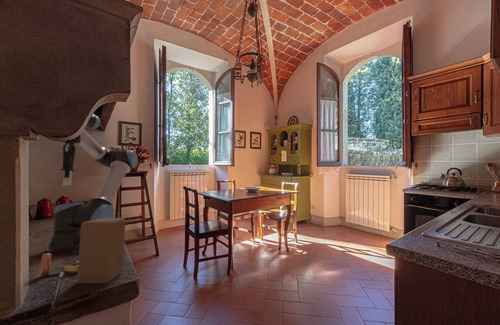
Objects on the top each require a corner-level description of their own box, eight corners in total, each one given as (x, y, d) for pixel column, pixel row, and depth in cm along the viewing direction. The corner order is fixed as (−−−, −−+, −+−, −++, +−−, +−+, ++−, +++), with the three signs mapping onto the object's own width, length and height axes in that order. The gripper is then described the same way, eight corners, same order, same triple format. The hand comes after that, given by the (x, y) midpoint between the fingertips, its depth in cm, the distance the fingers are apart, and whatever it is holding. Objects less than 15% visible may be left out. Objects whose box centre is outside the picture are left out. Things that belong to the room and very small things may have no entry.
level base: (62, 272, 84) (63, 265, 84) (92, 268, 88) (92, 261, 89) (56, 281, 76) (57, 273, 76) (89, 275, 81) (89, 268, 81)
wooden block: (123, 274, 82) (126, 217, 84) (107, 286, 72) (110, 221, 74) (95, 274, 82) (99, 218, 84) (75, 286, 72) (79, 222, 74)
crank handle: (37, 279, 74) (39, 257, 75) (43, 272, 80) (44, 252, 81) (86, 271, 81) (88, 251, 82) (88, 265, 87) (89, 247, 88)
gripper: (63, 135, 108) (59, 185, 105) (56, 129, 97) (51, 185, 94) (82, 137, 112) (79, 185, 109) (78, 131, 100) (74, 185, 98)
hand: (66, 185), depth 102 cm, fingers closed
